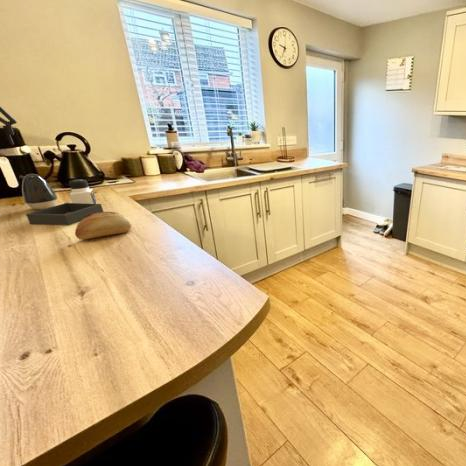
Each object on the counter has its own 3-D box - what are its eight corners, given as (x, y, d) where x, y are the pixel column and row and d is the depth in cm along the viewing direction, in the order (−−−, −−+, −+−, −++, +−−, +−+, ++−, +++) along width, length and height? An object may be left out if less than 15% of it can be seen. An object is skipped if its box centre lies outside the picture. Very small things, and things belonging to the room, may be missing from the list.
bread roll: (75, 237, 98) (67, 215, 95) (128, 226, 108) (122, 206, 105) (79, 245, 92) (71, 222, 89) (135, 233, 102) (129, 211, 99)
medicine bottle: (95, 207, 131) (86, 180, 126) (74, 209, 127) (64, 182, 123) (97, 203, 136) (89, 178, 132) (77, 205, 133) (68, 179, 128)
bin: (30, 224, 110) (25, 214, 108) (69, 211, 124) (66, 202, 123) (68, 225, 109) (64, 215, 107) (103, 212, 123) (100, 203, 122)
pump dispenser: (44, 204, 134) (31, 171, 128) (66, 205, 133) (54, 172, 128) (20, 211, 124) (5, 175, 119) (43, 211, 124) (29, 176, 118)
